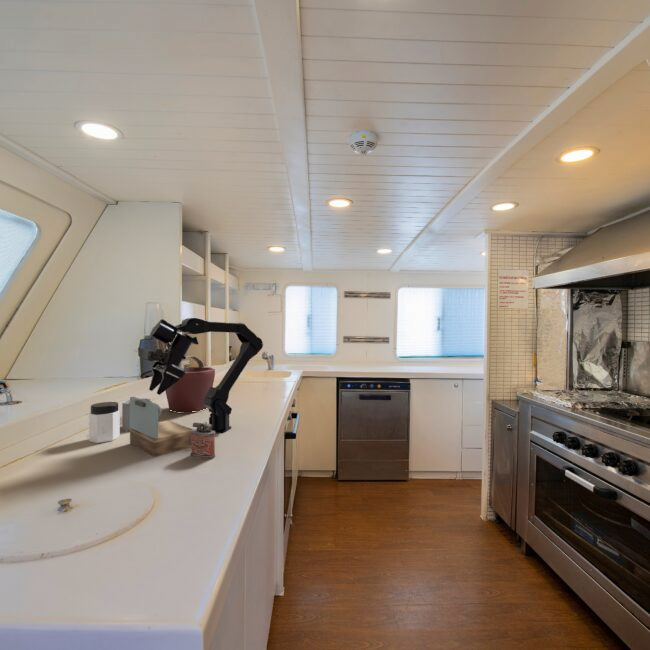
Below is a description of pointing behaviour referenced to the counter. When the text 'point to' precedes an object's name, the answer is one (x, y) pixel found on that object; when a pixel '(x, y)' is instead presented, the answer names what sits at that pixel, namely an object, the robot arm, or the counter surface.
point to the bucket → (191, 388)
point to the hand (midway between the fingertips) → (154, 392)
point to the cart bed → (163, 439)
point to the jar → (104, 422)
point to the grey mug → (127, 413)
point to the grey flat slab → (144, 417)
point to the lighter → (202, 441)
